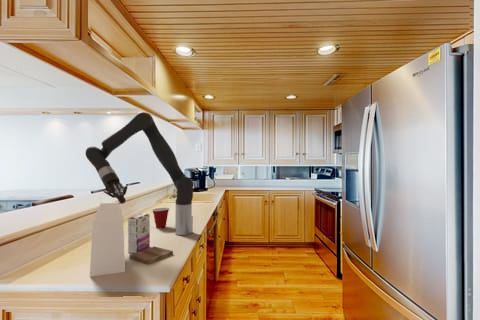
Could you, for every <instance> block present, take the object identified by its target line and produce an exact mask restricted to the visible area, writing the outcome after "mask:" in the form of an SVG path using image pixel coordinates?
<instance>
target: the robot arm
mask: <svg viewBox="0 0 480 320" xmlns="http://www.w3.org/2000/svg"><path fill="white" fill-rule="evenodd" d="M142 131H143V133H144V134H145V136H146V137H147V139H148V141H149V144H150V146H151V148H152V151H153V153H154V155H155V157H156V158H157V160H158V161H159V163H160V164H161V165H162V166H163V169H165V171H166V173H167V174H168V175H169V177H170V178H171V181H172V182H173V185H174V187H175V189H176V199H175V225H174V227H175V230H174V232H175V235H177V236H189V235H191V234H192V233H193V229H194V228H193V227H194V226H193V225H194V223H193V220H194V219H193V218H194V217H193V215H192V212H193V207H192V205H193V198H194V183H193V180H192V178H190V177H189V176H186V174H185V173H184V172H183V171H182V169H181V167H180V165H179V162H178V160H177V157H176V154H175V153H174V150H173V149H172V147H171V146H170V145H169V143H168V142H167V140H166V139H165V138H164V136H163V135H162V134H161V132H160V130H159V129H158V126H157V125H156V122H155V120H154V118H153V116H152V115H151V114H150V113H149V112H145V111H144V112H143V111H141V112H138V113H137V114H135V116H134V117H133V118H131V120H130V121H129V122H128V123H126V125H124V126H123V127H122V128H120V129H119V130H117V131H116V132H114V133H112V134H110V135H109V136H108V137H107V138H105V139H104V140H102V142H101V146H102V147H101V148H98V147H96V146H89V147H87V148H86V149H85V156H86V159H87V161H89V163H90V164H91V165H92V166H93V167H94V168H95V170H96V172H97V174H98V176H99V179H100V180H101V182H102V184H103V186H104V187H105V188H104V189H103V193H104V194H106V195H107V196H109V197H111V198H113V199H114V198H116V199H117V202H118V203H120V204H125V203H126V201H127V199H126V197H125V195H126V194H127V190H128V186H127V185H125V186H124V185H123V183H121V182H120V178H119V175H117V173H116V172H115V170H114V168H113V167H112V166H111V164H110V162H109V161H108V160H107V159H108V157H109V156H110V155H111V153H112V152H113V151H114V150H116V149H117V148H119V147H120V146H121V145H122V144H124V143H125V142H126V141H128V140H129V139H130V138H131V137H132V136H134V135H135V134H137V133H139V132H142Z"/></svg>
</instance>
